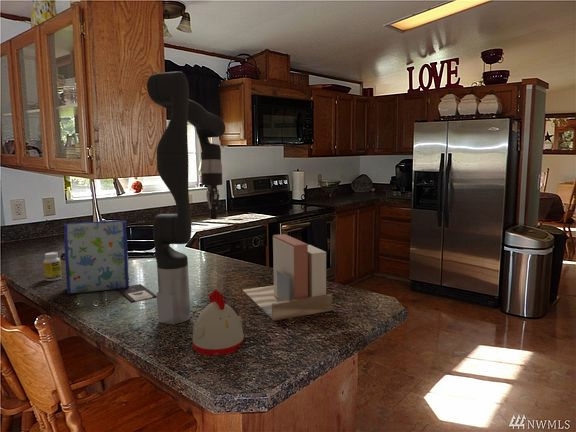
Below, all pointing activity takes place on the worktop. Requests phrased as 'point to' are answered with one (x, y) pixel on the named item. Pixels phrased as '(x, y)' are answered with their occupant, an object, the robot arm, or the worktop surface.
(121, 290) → the chocolate bar
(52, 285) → the worktop surface
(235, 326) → the kitchen timer
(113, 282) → the lunch bag
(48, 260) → the pill bottle
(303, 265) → the terracotta book
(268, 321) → the worktop surface
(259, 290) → the rack
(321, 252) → the cream book
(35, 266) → the worktop surface
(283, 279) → the bookend
